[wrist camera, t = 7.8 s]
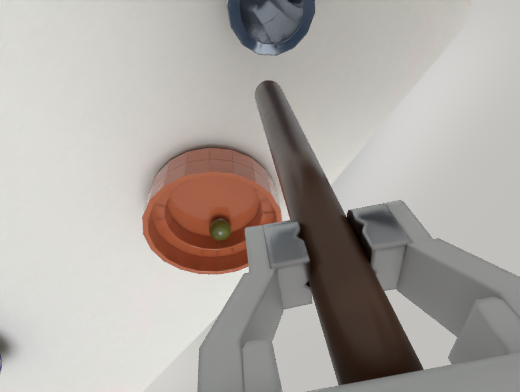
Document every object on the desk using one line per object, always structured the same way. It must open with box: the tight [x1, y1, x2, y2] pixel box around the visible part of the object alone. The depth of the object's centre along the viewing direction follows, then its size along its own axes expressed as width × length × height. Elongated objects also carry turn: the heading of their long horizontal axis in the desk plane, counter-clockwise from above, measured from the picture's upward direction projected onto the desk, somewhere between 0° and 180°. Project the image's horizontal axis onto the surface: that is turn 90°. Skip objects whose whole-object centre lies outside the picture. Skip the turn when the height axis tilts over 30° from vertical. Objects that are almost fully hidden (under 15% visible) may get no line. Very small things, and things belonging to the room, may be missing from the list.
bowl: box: [142, 148, 282, 274], centre depth 40 cm, size 16×16×6 cm
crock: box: [226, 0, 315, 56], centre depth 25 cm, size 6×6×9 cm
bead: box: [209, 218, 231, 241], centre depth 43 cm, size 3×3×3 cm
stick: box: [255, 80, 424, 385], centre depth 11 cm, size 2×2×20 cm
